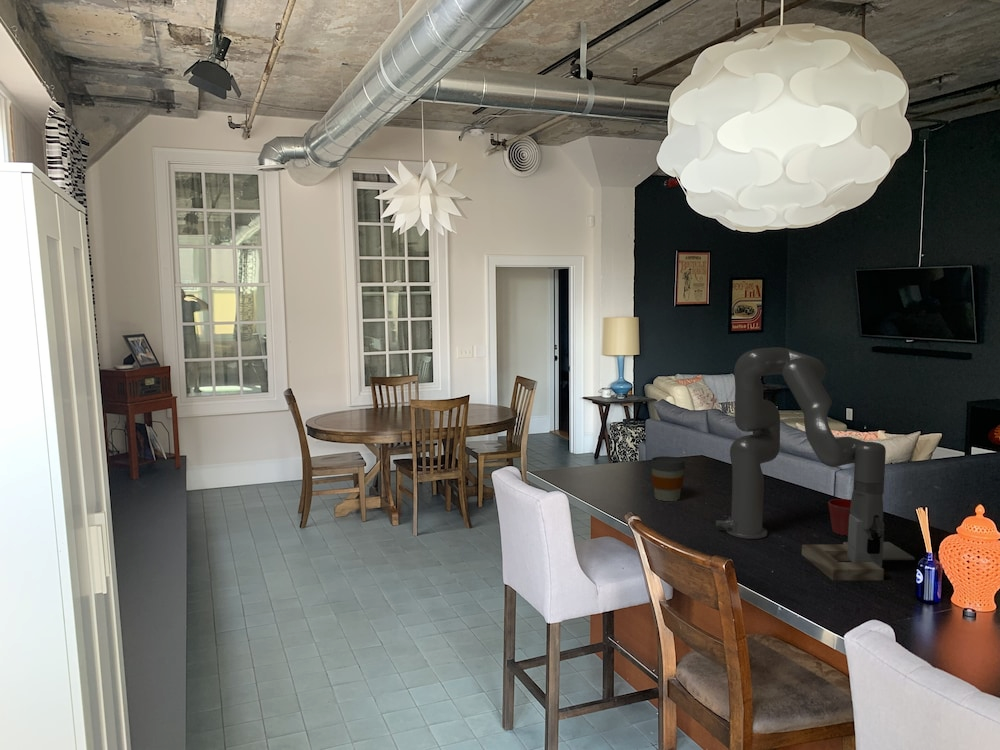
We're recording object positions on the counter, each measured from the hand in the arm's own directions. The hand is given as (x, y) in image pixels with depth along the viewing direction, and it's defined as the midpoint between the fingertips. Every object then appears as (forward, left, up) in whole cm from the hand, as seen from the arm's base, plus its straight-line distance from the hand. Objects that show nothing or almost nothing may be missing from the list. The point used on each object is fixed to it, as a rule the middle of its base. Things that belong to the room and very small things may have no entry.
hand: (865, 547), depth 204 cm
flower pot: (+9, +30, -6) cm, 32 cm away
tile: (+10, +12, -5) cm, 16 cm away
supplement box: (0, 0, -4) cm, 4 cm away
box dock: (-7, 0, -5) cm, 9 cm away
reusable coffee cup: (-39, +71, -6) cm, 81 cm away
